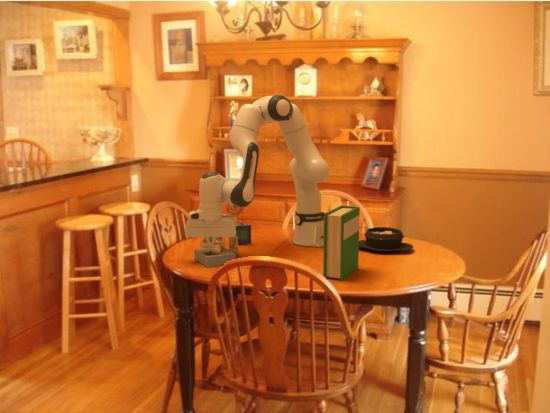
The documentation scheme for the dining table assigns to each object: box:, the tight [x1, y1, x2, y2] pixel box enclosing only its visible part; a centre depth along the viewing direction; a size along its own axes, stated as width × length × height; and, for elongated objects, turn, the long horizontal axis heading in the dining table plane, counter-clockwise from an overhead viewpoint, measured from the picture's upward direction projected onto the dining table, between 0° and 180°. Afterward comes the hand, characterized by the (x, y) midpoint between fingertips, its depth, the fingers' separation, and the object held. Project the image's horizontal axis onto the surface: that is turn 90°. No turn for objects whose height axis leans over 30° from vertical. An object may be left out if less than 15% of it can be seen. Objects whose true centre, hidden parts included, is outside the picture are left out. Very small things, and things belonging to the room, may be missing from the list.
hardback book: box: [322, 205, 361, 282], centre depth 213 cm, size 18×7×24 cm, turn 154°
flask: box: [236, 220, 252, 246], centre depth 258 cm, size 9×3×11 cm, turn 109°
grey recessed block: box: [193, 246, 236, 269], centre depth 231 cm, size 12×14×4 cm
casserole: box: [359, 226, 414, 254], centre depth 248 cm, size 25×19×8 cm
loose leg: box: [228, 236, 239, 257], centre depth 239 cm, size 4×4×8 cm
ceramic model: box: [200, 237, 226, 248], centre depth 256 cm, size 14×11×10 cm
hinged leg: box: [211, 239, 225, 253], centre depth 233 cm, size 11×3×3 cm, turn 174°
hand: (211, 247), depth 230 cm, fingers closed
